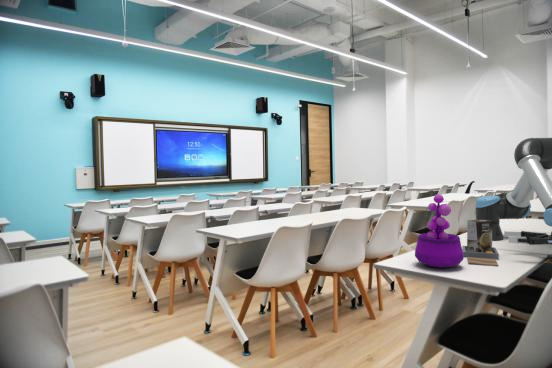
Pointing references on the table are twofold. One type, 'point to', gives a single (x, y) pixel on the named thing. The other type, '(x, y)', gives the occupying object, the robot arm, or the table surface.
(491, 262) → the walnut pad
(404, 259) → the table surface
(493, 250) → the grey square tray
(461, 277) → the table surface
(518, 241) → the robot arm
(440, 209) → the decorative plant
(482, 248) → the coffee box
